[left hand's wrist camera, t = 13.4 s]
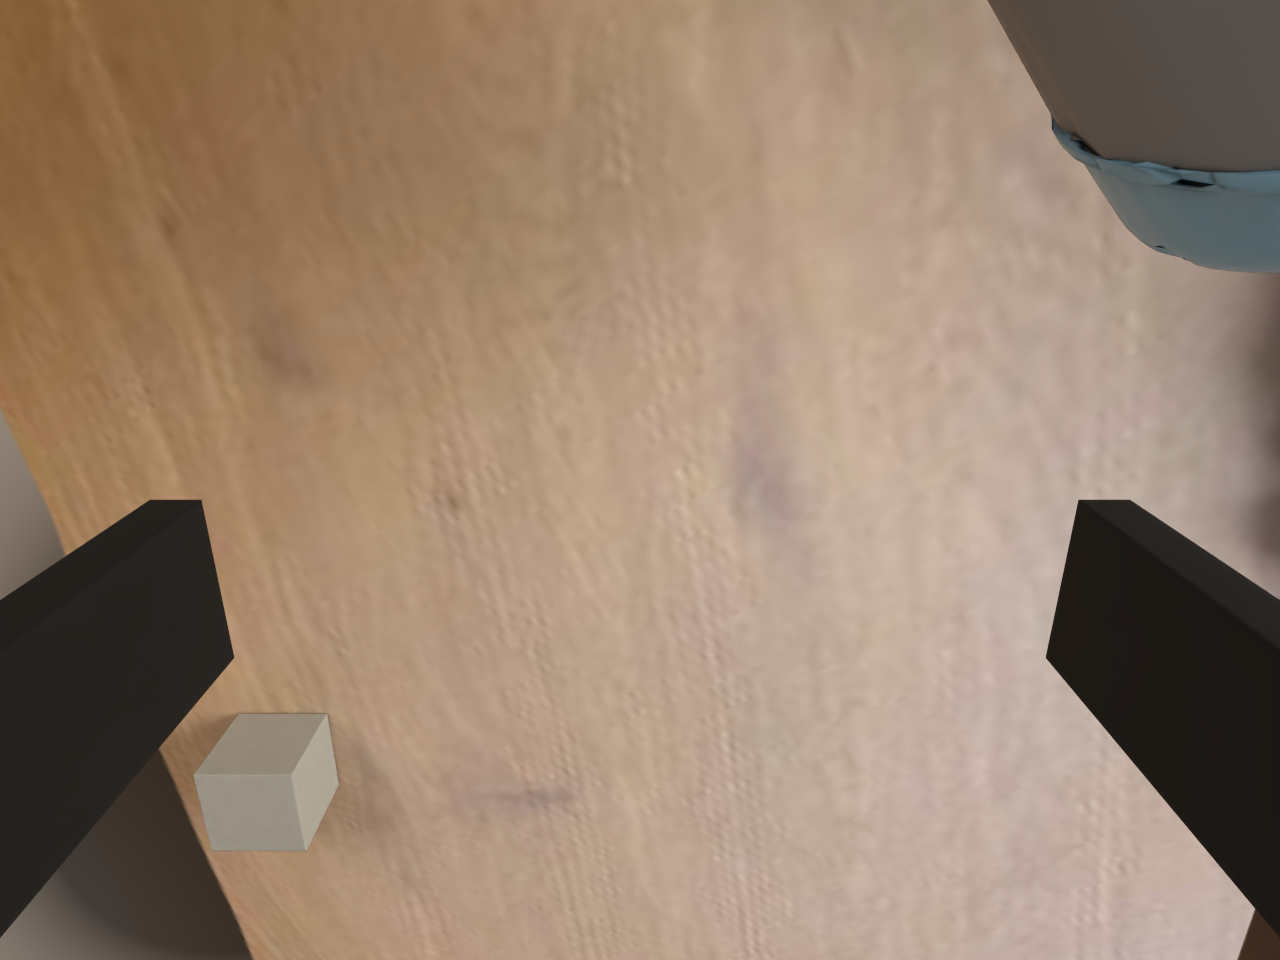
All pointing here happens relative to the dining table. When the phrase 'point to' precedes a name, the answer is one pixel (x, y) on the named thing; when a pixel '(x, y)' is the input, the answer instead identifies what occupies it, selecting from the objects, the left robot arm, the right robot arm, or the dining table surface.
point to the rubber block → (267, 782)
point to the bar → (1260, 941)
